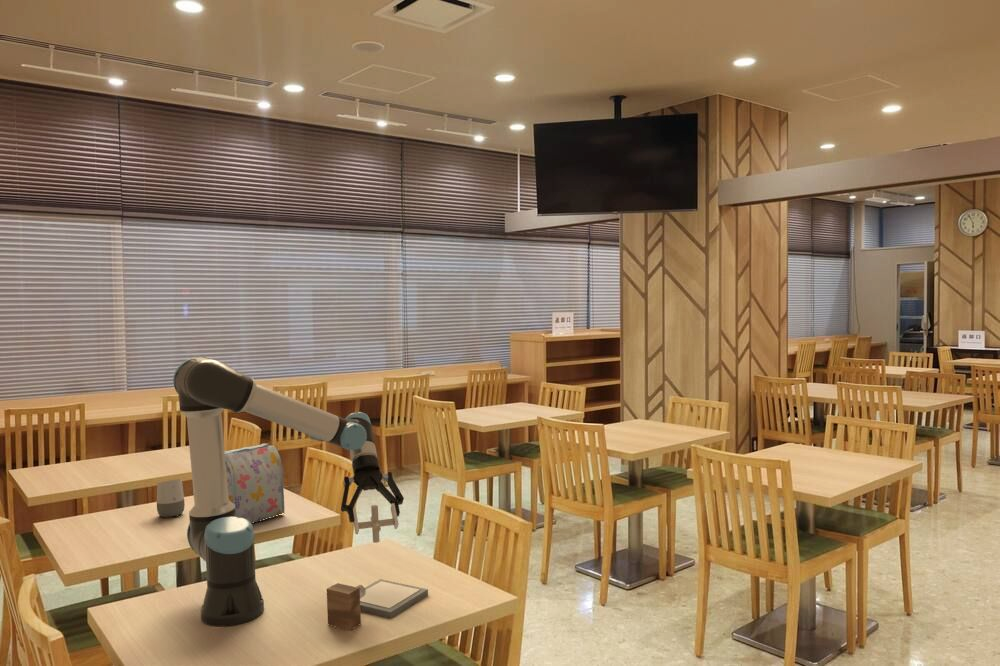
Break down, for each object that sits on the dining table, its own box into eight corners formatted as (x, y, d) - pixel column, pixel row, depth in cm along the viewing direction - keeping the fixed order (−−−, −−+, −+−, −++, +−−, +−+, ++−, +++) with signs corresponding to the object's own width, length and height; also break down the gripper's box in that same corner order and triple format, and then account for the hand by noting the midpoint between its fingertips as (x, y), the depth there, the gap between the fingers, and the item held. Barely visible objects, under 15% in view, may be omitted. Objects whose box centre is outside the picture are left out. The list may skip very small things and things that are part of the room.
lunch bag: (260, 508, 287) (257, 439, 286) (289, 515, 278) (286, 443, 276) (207, 524, 269) (203, 450, 268) (236, 531, 259) (232, 455, 258)
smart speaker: (179, 510, 288) (177, 473, 287) (188, 515, 281) (187, 477, 280) (153, 515, 281) (151, 478, 280) (162, 520, 274) (160, 482, 274)
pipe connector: (392, 533, 215) (390, 499, 215) (396, 545, 206) (394, 509, 205) (356, 538, 213) (354, 503, 212) (359, 549, 203) (357, 513, 202)
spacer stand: (364, 634, 179) (363, 597, 178) (314, 621, 187) (312, 585, 186) (428, 594, 201) (427, 561, 201) (380, 584, 209) (379, 552, 209)
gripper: (401, 463, 227) (415, 530, 213) (324, 471, 219) (334, 541, 205) (404, 449, 222) (419, 517, 208) (326, 457, 214) (336, 528, 200)
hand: (377, 529), depth 207 cm, fingers closed on pipe connector, 10 cm apart
